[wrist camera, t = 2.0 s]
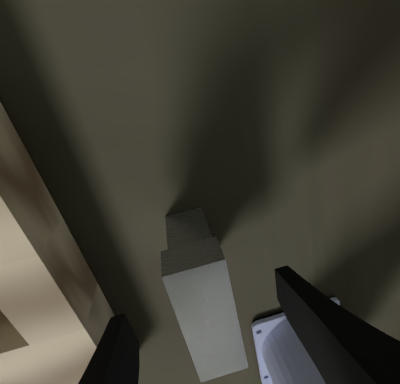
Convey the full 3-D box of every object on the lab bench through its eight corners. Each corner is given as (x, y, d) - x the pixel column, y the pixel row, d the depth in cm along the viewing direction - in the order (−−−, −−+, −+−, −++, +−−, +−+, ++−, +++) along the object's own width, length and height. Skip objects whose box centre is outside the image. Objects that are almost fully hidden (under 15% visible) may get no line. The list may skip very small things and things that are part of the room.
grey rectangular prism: (216, 269, 18) (248, 367, 12) (184, 278, 18) (201, 382, 12) (196, 185, 15) (225, 259, 9) (158, 195, 15) (161, 277, 9)
